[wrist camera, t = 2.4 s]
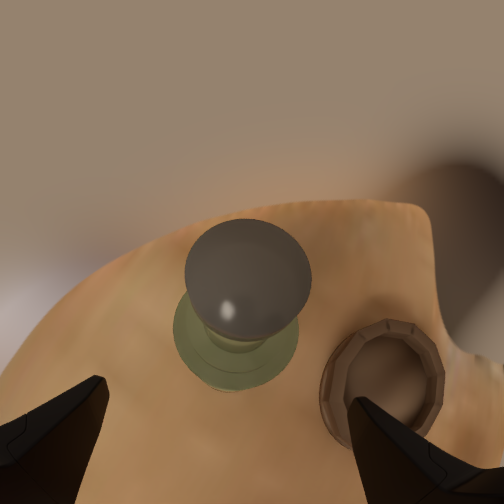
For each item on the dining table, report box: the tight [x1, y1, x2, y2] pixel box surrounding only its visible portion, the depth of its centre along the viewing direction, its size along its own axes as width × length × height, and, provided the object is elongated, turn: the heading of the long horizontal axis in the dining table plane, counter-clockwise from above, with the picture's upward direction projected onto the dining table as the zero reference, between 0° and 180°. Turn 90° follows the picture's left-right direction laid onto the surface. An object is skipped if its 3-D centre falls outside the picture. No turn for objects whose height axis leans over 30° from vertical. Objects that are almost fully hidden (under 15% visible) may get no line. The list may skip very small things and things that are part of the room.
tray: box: [319, 318, 445, 450], centre depth 17 cm, size 11×11×2 cm
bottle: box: [173, 219, 312, 393], centre depth 12 cm, size 5×5×15 cm
